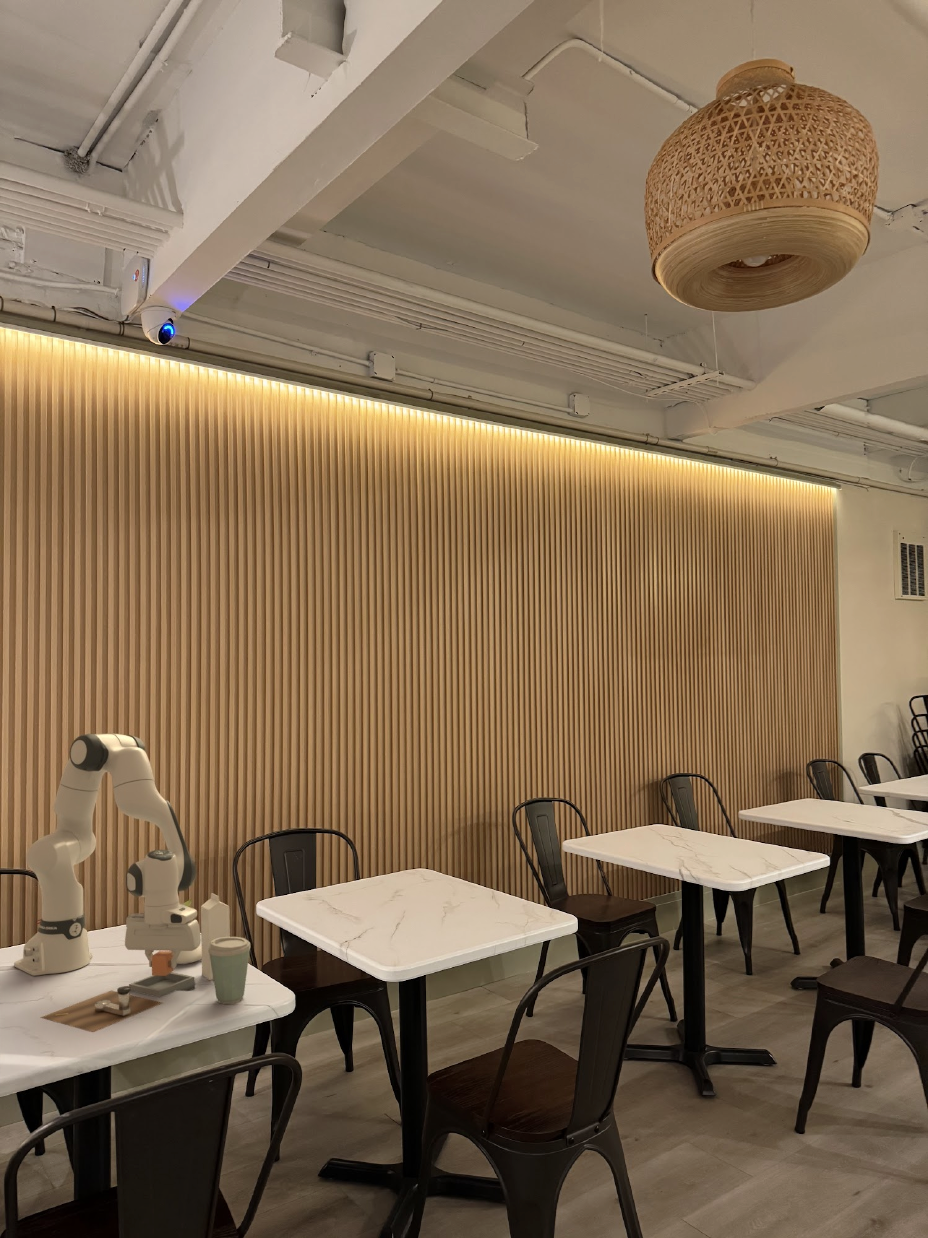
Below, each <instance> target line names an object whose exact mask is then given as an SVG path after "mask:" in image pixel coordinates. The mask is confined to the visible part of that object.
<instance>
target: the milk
mask: <svg viewBox="0 0 928 1238" xmlns="http://www.w3.org/2000/svg"><path fill="white" fill-rule="evenodd" d="M230 919H231V918H230V906H229V905H227V904H225V903H224V902H221V901H220V896H219V895H216V894H215V893H212V892H211V893H210V898H209V899H208V900H206V902H204V903H203V904H202V905H201V906H200V925H201V926H200V928H201V929H200V940H201V941H200V943H201V947H202V959H201V975H202V976H203V977H204V978H206V979H207V980H209V981H212V980H213V981H214V979H213V973H212V967H211V961H210V955H209V953H208V951H209V946H210V945H211V941H212V940H214V939H216V938H221V937H231V936H230V935H231V933H230V932H231V931H230V926H231V925H230V923H231V922H230Z"/></svg>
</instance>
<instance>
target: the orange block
mask: <svg viewBox="0 0 928 1238" xmlns="http://www.w3.org/2000/svg"><path fill="white" fill-rule="evenodd" d="M172 957H173V955H172V951H163V950H158V951H157V952H156V953H153V955H152V967H151V976H152V975H158V976H166V975H168V974H169V973H171V972H174V971H175V969H174V968H175V967H174V968H169V967H168V965H169V964H168V961H169V960H171V959H172Z"/></svg>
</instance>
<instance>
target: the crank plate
mask: <svg viewBox="0 0 928 1238" xmlns="http://www.w3.org/2000/svg"><path fill="white" fill-rule="evenodd" d="M103 1000H109V1001H111V1003H113V1004H117V1005H119V994H118V993H117V991H115V990H110V991H106V992H104V993H101V994H99V995H96V996H94V997H90V998H88V999H85V1000H82V1001H79V1002H77V1003H75V1004H72V1005H69V1006H66V1007H63V1008H62V1009H59V1010H56V1011H54V1012H51V1013H47V1014H46V1015H43V1016H41V1017H40V1019H43V1020H44V1019H45V1020H47V1021H52V1022H55V1023H57V1024H58V1023H59V1024H62V1025H67V1026H69V1027H74V1028H76V1029H80V1030H84V1031H87V1032H91V1033H94V1032H97V1031H99V1030H102V1029H104V1028H106V1027H110V1026H112V1025H114V1024H117V1023H119V1022H122V1021H123V1020H126V1019H128V1018H130V1017H134V1016H135V1015H138V1014H140V1013H142V1012H143V1013H144V1012H145V1011H147V1010H149V1009H152V1008H154V1007H157V1006H159V1005H162V1004H163V1002H162V1001H157V1000H155V999H154V1000H153V999H149V998H145V997H141V996H137V995H136V996H135V995H133V994H132V995H131V994H129V1008H130V1013H129V1014H127V1015H124V1016H122V1015H118V1014H114V1013H110V1012H106V1011H95V1003H96V1002H99V1001H103Z"/></svg>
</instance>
